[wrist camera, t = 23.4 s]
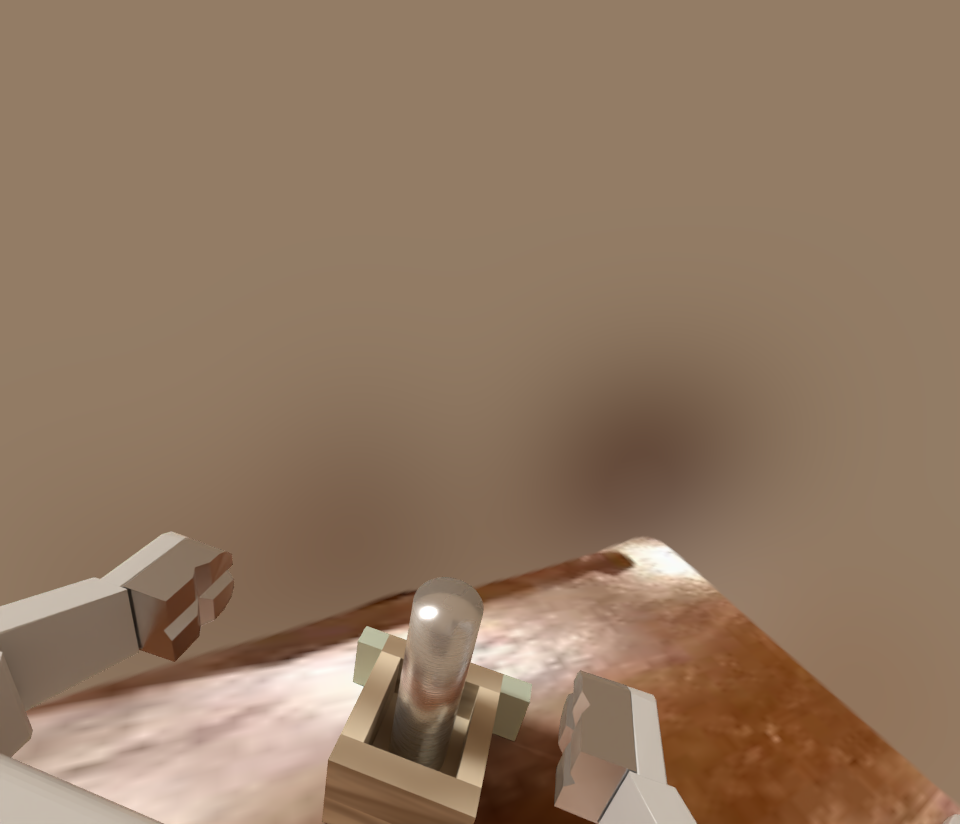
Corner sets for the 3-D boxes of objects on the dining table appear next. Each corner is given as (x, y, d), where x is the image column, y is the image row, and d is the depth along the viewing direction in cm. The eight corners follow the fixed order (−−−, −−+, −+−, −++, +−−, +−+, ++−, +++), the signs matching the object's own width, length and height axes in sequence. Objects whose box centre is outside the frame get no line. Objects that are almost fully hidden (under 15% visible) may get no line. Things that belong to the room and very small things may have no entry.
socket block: (454, 876, 29) (475, 817, 26) (322, 821, 30) (328, 759, 27) (484, 731, 37) (503, 674, 34) (380, 692, 38) (389, 634, 35)
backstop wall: (514, 741, 37) (529, 702, 34) (352, 681, 38) (357, 641, 36) (517, 722, 38) (532, 684, 36) (361, 666, 40) (366, 626, 38)
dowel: (423, 706, 34) (452, 567, 28) (458, 752, 32) (497, 611, 26) (377, 742, 32) (399, 596, 26) (411, 795, 29) (443, 648, 23)
